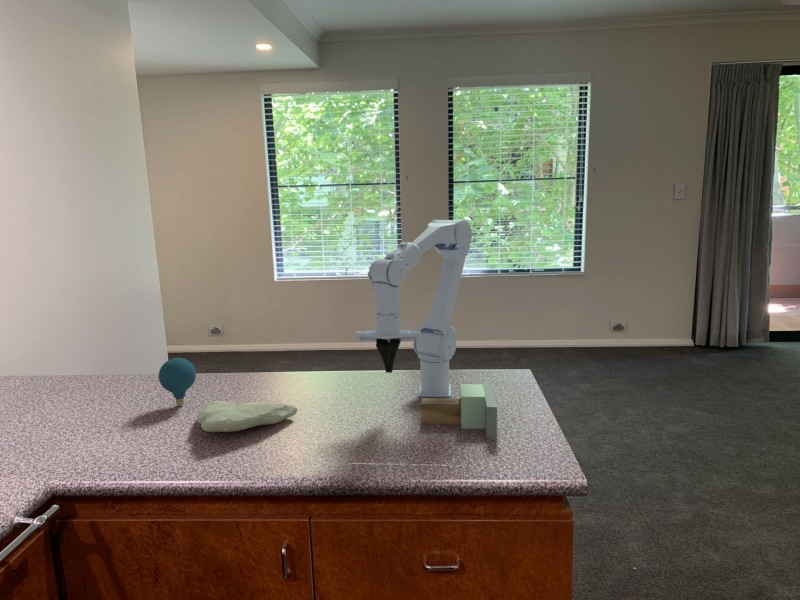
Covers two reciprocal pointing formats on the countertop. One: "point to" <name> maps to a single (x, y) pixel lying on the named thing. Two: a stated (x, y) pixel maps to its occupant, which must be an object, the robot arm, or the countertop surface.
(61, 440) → the countertop surface
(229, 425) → the rock
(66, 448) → the countertop surface
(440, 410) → the bar
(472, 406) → the block
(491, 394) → the board
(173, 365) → the light bulb
